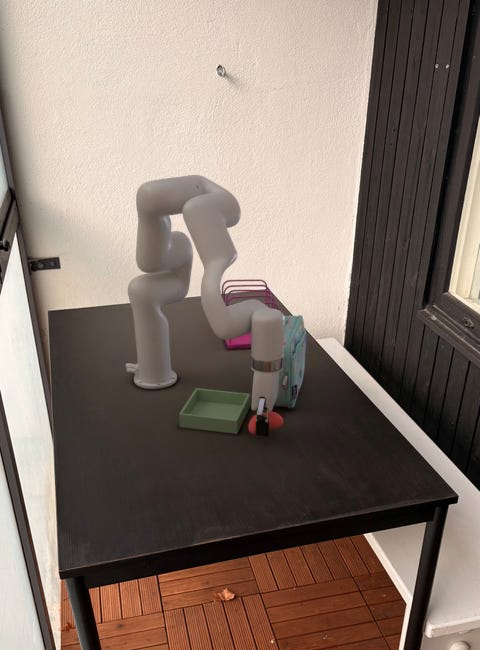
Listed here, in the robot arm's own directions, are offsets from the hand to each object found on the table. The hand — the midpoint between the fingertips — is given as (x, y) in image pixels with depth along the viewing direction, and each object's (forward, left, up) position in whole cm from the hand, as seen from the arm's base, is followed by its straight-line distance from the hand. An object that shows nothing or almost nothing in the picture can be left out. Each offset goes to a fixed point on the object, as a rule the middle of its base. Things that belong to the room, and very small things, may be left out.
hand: (265, 426), depth 160 cm
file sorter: (-19, +67, -4) cm, 69 cm away
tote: (-15, +8, -3) cm, 17 cm away
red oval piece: (0, 0, -1) cm, 1 cm away
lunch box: (0, +25, -4) cm, 25 cm away
